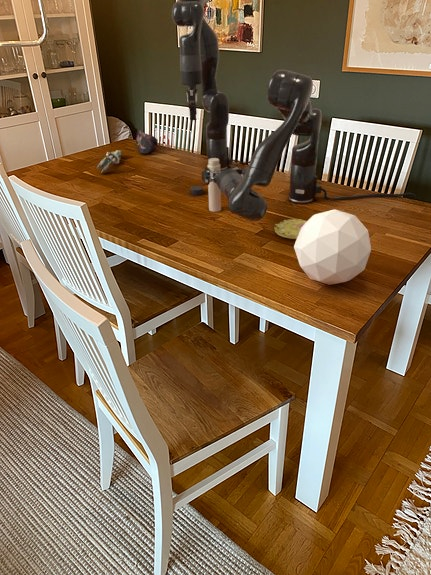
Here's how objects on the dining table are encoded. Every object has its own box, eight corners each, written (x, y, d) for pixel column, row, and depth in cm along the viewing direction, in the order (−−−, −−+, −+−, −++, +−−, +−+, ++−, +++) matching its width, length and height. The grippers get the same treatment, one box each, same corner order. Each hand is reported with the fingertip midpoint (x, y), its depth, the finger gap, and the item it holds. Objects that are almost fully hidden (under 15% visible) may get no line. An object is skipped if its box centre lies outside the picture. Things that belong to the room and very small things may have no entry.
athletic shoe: (143, 144, 221) (166, 143, 225) (132, 120, 233) (154, 119, 237) (142, 163, 229) (164, 162, 234) (131, 139, 241) (152, 138, 245)
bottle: (223, 208, 166) (222, 158, 156) (217, 212, 162) (216, 162, 152) (212, 206, 168) (210, 157, 158) (206, 210, 164) (204, 160, 154)
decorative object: (286, 211, 157) (342, 219, 147) (286, 217, 158) (341, 226, 148) (260, 233, 142) (319, 243, 133) (260, 240, 144) (319, 251, 134)
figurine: (101, 154, 197) (119, 141, 223) (91, 167, 200) (110, 152, 227) (114, 165, 199) (130, 151, 225) (103, 178, 203) (121, 162, 229)
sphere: (306, 297, 126) (271, 236, 124) (363, 261, 128) (330, 201, 126) (334, 302, 107) (294, 231, 105) (400, 260, 109) (362, 189, 107)
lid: (205, 191, 181) (204, 186, 180) (201, 196, 177) (201, 190, 176) (192, 190, 183) (192, 185, 181) (188, 195, 178) (188, 189, 177)
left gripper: (181, 67, 161) (184, 113, 170) (179, 72, 149) (182, 122, 158) (201, 66, 161) (203, 113, 170) (201, 71, 149) (203, 121, 158)
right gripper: (255, 170, 132) (240, 155, 145) (208, 175, 129) (197, 159, 143) (254, 194, 136) (240, 177, 149) (209, 199, 133) (199, 182, 147)
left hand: (193, 117), depth 164 cm, fingers open, 8 cm apart
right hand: (219, 169), depth 146 cm, fingers open, 8 cm apart
